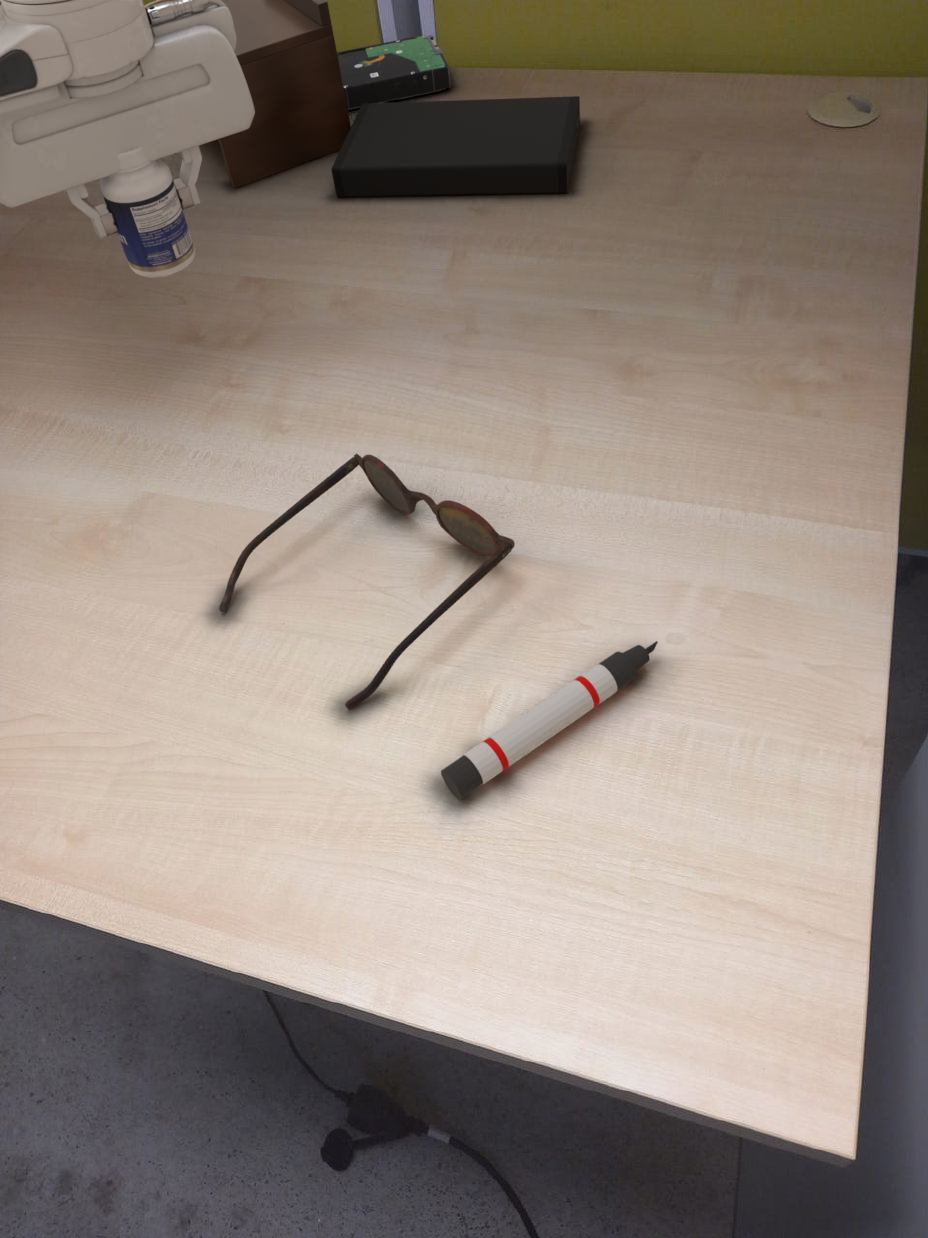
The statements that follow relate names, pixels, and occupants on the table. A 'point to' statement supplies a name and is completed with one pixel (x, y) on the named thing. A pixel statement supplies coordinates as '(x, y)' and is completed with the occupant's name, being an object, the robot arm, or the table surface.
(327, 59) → the rack
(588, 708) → the marker
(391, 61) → the disk drive
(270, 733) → the table surface
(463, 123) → the external hard drive
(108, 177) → the pill bottle
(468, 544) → the eyeglasses
